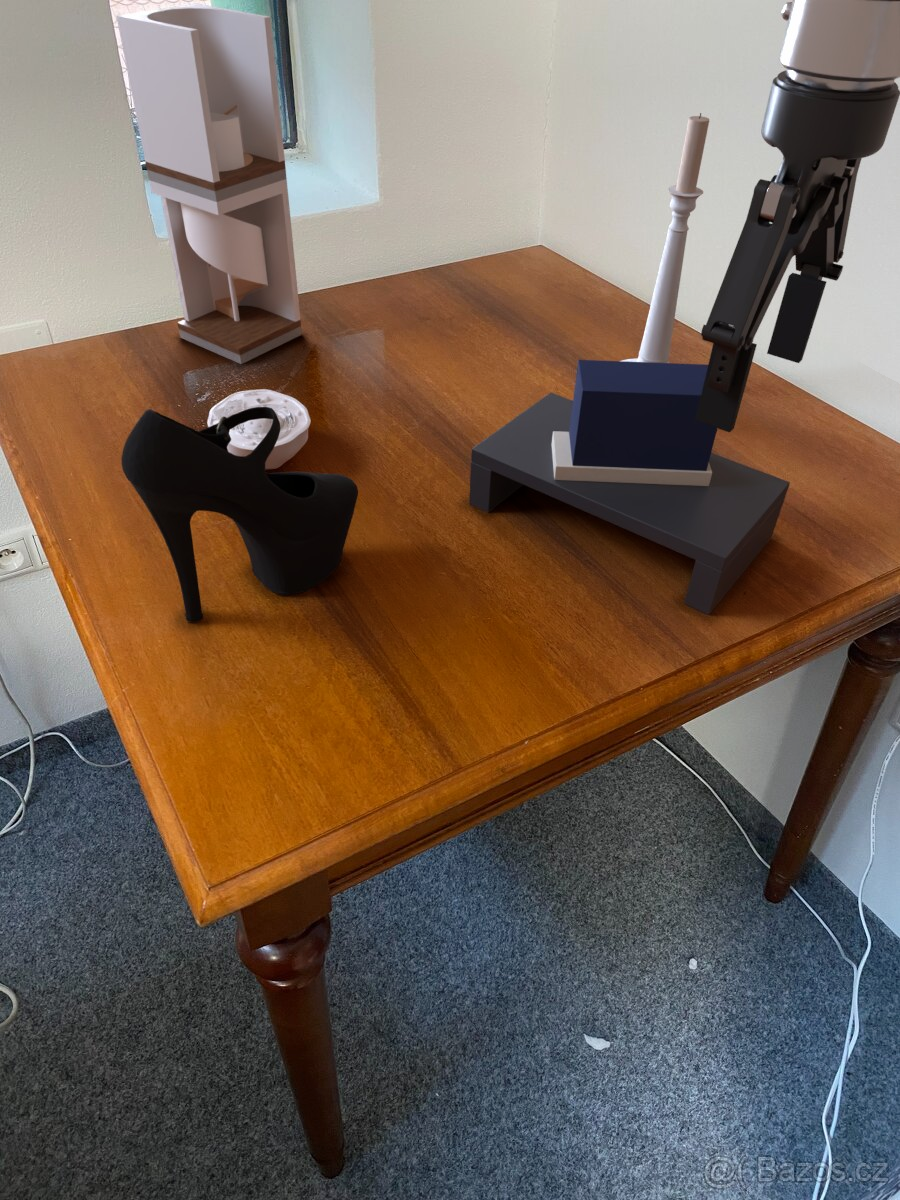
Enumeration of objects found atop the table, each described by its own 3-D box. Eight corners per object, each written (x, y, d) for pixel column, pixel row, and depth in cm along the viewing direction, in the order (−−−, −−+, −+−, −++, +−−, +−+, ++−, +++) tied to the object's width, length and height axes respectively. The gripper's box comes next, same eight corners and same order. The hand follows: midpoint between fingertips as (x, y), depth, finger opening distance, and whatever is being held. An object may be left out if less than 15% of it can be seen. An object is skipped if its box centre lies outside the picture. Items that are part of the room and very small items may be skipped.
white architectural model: (180, 337, 113) (116, 15, 90) (241, 310, 119) (197, 3, 96) (241, 364, 108) (190, 30, 85) (302, 334, 114) (270, 16, 91)
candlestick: (590, 363, 110) (628, 94, 90) (693, 367, 110) (753, 99, 90) (597, 415, 101) (640, 128, 80) (709, 421, 100) (781, 133, 80)
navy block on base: (697, 450, 84) (719, 363, 78) (708, 486, 79) (732, 397, 73) (551, 444, 84) (561, 357, 78) (554, 480, 79) (564, 391, 73)
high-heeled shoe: (378, 562, 80) (368, 362, 67) (190, 656, 71) (135, 446, 58) (329, 521, 85) (310, 326, 71) (146, 605, 76) (85, 398, 62)
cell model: (296, 420, 99) (289, 365, 94) (325, 478, 90) (320, 420, 86) (205, 437, 96) (194, 381, 91) (226, 498, 87) (216, 439, 83)
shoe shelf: (771, 537, 84) (790, 481, 80) (708, 615, 76) (726, 558, 72) (545, 445, 96) (550, 391, 91) (468, 504, 87) (471, 448, 83)
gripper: (845, 37, 63) (767, 320, 77) (693, 103, 48) (631, 439, 62) (955, 52, 59) (852, 345, 74) (829, 128, 44) (730, 477, 59)
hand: (751, 389), depth 68 cm, fingers open, 13 cm apart
